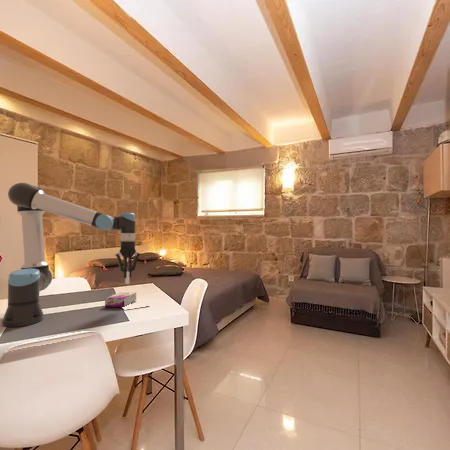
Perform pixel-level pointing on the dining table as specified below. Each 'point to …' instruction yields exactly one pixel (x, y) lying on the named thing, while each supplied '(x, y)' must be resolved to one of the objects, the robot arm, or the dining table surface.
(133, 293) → the candy bar box
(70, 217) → the robot arm
